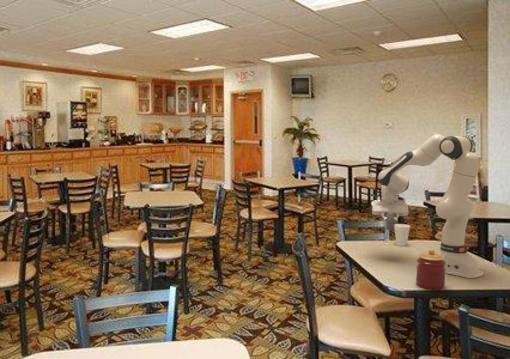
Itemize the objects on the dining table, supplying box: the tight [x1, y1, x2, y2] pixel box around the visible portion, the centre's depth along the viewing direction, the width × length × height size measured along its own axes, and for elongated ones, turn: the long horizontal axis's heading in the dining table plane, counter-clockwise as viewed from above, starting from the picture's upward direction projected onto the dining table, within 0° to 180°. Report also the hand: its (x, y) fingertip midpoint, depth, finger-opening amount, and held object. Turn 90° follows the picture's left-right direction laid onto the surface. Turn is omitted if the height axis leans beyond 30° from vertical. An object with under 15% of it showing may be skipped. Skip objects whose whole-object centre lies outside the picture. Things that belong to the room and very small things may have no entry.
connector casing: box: [385, 209, 396, 231], centre depth 248 cm, size 7×4×11 cm, turn 168°
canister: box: [415, 248, 446, 290], centre depth 208 cm, size 13×13×18 cm
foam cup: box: [394, 223, 411, 247], centre depth 285 cm, size 10×9×13 cm
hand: (390, 220), depth 247 cm, fingers closed on connector casing, 4 cm apart
